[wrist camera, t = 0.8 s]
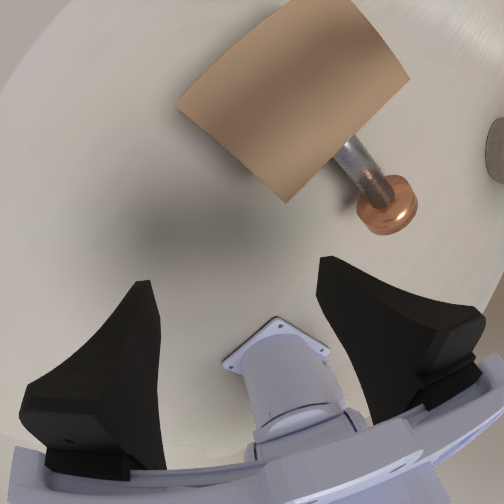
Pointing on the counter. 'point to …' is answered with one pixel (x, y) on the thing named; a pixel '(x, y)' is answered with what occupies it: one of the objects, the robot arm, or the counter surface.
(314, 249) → the counter surface
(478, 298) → the counter surface
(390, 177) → the copper capped shaft
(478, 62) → the counter surface
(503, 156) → the thermos bottle
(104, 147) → the counter surface
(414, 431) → the robot arm
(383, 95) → the bearing block
